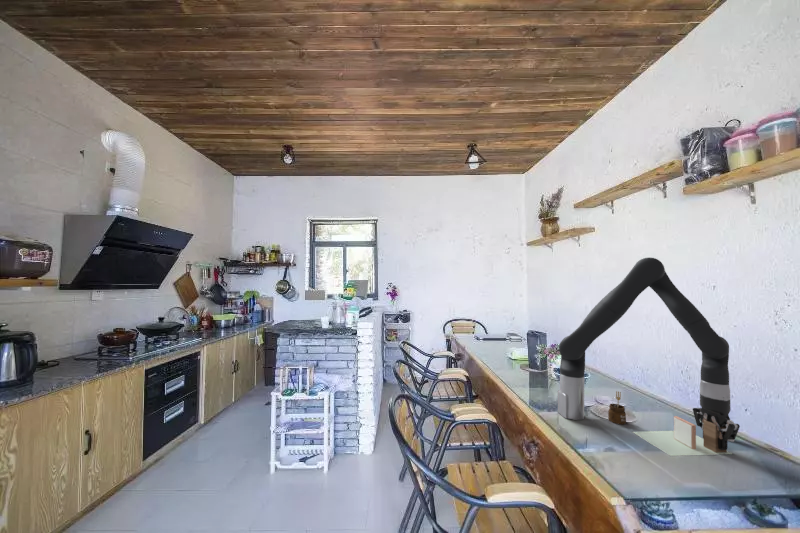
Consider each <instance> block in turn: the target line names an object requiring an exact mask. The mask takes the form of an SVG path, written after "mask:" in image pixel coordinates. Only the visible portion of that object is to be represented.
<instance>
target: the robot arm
mask: <svg viewBox="0 0 800 533" xmlns="http://www.w3.org/2000/svg"><path fill="white" fill-rule="evenodd" d="M648 288H650V289H651V290H652V291H653V292H654V293H655V294H656V295H657V296H658V297H659V298H660V299H661V301H662V302H663V303H664V305H665V306H666V308H667V309H668V310H669V312H670V313H671V315H672V316H673V317H674V318H675V319H676V321H677V322H678V323H679V324H680V325H681V327H682V328H683V329H684V330H685V331H686V332H687V334H689V336H690V338H691V339H692V341H693V342H694V344H695V346H697V348H698V349H699V350H700V351H701V361H702V362H701V365H700V383H699V406H700V407H692V413H693V416H694V420H695V422H696V424H695V425H696V427H697V426H698V427H700V428H701V430H702V438H703V439H704V423H703V420H705V421H709V422H712V423H714V425H716V430H717V431H718V436H719V438H718V449H720V450H726V449H727V450H728V447H729V446H728V444H729V443H728V442H729V441H728V440H734V441H736V440H735V439H736V437H737V435H738V432H739V430H740V427H741V426H740V424H739V423H736V422H734V421H733V420H732V421H733V422H734V423H733V422H732V421H730V420H731V418H730V414H729V413H730V412H731V388H730V372H729V359H730V345H729V342H728V341H727V339H725V338H724V337H722V336H721V335H719V334H718V333H717V332H716V331H715V330H714V329H713V328H712V327H711V325H710V322H709V321H708V320H707V318H706V317H705V315H703V313H701V311H700V310H699V309H698V308H697V307H696V306H695V305H694V304H693V303H692V302H691V300H690V299H688V298H687V297H686V296H685V295H684V294H683V293H682V292H681V291H680V289H678V288H677V286H676V285H675V284H674V283H673V281H672V280H671V279H670V277H669V275H668V273H667V272H666V269H665V266H664V264H663V262H661V261H660V259H658V258H655V257H645V258H641V259H640V260H638V261H636V263H635V264H634V265H633V267H632V269H630V271H629V272H628V274H626V276H625V277H624V278H623V279H622V280H621V282H620V283H618V285H617V286H615V287H614V288H612V289H611V290H610V291H609V292H608V293H607V294H606V295H604V297H603V298H602V299H601V300H599V302H598V303H597V304H596V305H595V306H594V307H593V308H592V309H591V310H590V311H589V313H588V314H587V316H586V317H585V318H584V319H583V321H582V322H581V323H580V325H579V326H578V327H577V328H576V329H575V330H574V331H573V332H572V333H570V334H569V335H567V336H565V337H564V338H563V339H562V340H561V341H560V343H559V346H558V352H559V354H560V365H559V390H557V414H559V415H561V416H562V417H563V418H564V419H569V420H573V421H574V420H575V421H581V420H584V419H585V373H586V372H585V370H586V351H587V349H589V347H590V346H591V345H592V344H593V343H594V341H596V340H597V338H599V337H601V335H603V334H604V333H605V332H607V330H609V329H610V328H611V327H612V326H613V325H615V324H616V323H617V322H618V321H619V320H620V319H621V318H622V317H623V316H624V315H625V314H626V313H627V311H628V310H629V309H630V308H631V307H632V305H633V304H634V302H635V301H636V299H637V298H638V297H639V296H640V295H641V294H642V293H643V292H644V291H645V290H647V289H648ZM727 424H728V426H727ZM724 426H725V427H724ZM720 427H724V428H720ZM722 431H723V433H722ZM723 434H724V435H723Z"/></svg>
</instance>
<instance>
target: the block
mask: <svg viewBox="0 0 800 533" xmlns="http://www.w3.org/2000/svg"><path fill="white" fill-rule="evenodd" d="M703 423H704V447H706V448H708V449H710V450H712V451H713V452H715V453H719V452H727V451H728V448H727V449H726V450H720V449H718V438H719V436H718V431H717V430H716V425H714V423H712V422H709V421H705V420H703ZM724 427H725V426H724ZM724 427H720V428H724ZM722 433H723V431H722ZM723 435H724V434H723Z"/></svg>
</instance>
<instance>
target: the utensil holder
mask: <svg viewBox="0 0 800 533" xmlns="http://www.w3.org/2000/svg"><path fill="white" fill-rule="evenodd" d="M615 393H616V394H615V396H613V398H612V400H614V399H615V400H616V401H617V403H610V404H609V406H608V413H607V414H608V415H607V417H608V418H607V419H608V421H609V422H610V423H612V424H616V425H627V416H626V415H627V414H626V412H625V411H626V408H625V406H623V405H621V404H620V400H621V395H622V394H621V393H622V392H621V391H617V390H616V391H615Z"/></svg>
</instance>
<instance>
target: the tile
mask: <svg viewBox="0 0 800 533" xmlns="http://www.w3.org/2000/svg"><path fill="white" fill-rule="evenodd" d="M673 431H674V439H676V440H677V441H679V442H681V443H683V444H685V445H686V446H688V447H690V448H692V449H696V435H697V424H694V423H692V422H690V421H688V420H686V419H683V418H681V417H680V416H677V415H674V416H673Z"/></svg>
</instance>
